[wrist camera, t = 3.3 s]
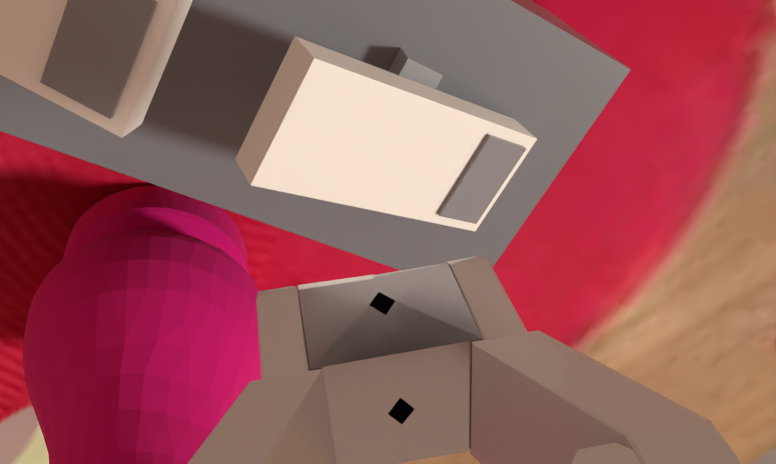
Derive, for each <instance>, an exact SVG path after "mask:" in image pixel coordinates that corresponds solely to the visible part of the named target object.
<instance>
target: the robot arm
mask: <svg viewBox="0 0 776 464" xmlns="http://www.w3.org/2000/svg"><path fill="white" fill-rule="evenodd" d="M298 292H299V297H298ZM299 300H300V303H299ZM256 303H257V319H258V335H259V350H260V366H261V380H255V381H250V382H249V383H248V384H247V386H246V387H245V388H244V390H243V391H242V392H241V394H240V395H239V396H238V397H237V399H236V400H235V401H234V403H233V404H232V405H231V407H230V408H229V409H228V411H227V412H226V413H225V415H224V416H223V417H222V419H221V420H220V421H219V423H218V424H217V425H216V427H215V428H214V429H213V431H212V432H211V433H210V435H209V436H208V437H207V439H206V440H205V441H204V443H203V444H202V445H201V446H200V448H199V449H198V450H197V452H196V453H195V454H194V456H193V457H192V458H191V460H190V461H189V462H188V464H397V463H402V462H404V461H405V462H407V461H413V460H419V459H425V458H431V457H437V456H443V455H449V454H455V453H461V452H467V451H471V455H473V456H474V457H475V458H476V459H477V460H478V461H479V462H481V463H482V464H742V463H741V461H740V460H739V459H738V457H737V456H736V455H735V453H734V452H733V451H732V449H731V448H730V447H729V445H728V444H727V443H726V441H725V440H724V439H723V437H722V436H721V435H720V433H719V432H718V430H717V429H716V428H715V426H714V425H713V424H712V422H711V421H710V420H708V419H706V418H704V417H702V416H700V415H698V414H696V413H694V412H692V411H691V410H689V409H687V408H685V407H683V406H681V405H679V404H677V403H675V402H673V401H672V400H670V399H668V398H666V397H664V396H662V395H660V394H658V393H656V392H655V391H653V390H651V389H649V388H647V387H645V386H643V385H641V384H639V383H637V382H636V381H634V380H632V379H630V378H628V377H626V376H624V375H622V374H620V373H619V372H617V371H615V370H613V369H611V368H609V367H607V366H605V365H603V364H601V363H600V362H598V361H596V360H594V359H592V358H590V357H588V356H586V355H584V354H583V353H581V352H579V351H577V350H575V349H573V348H571V347H569V346H567V345H565V344H564V343H562V342H560V341H558V340H556V339H554V338H552V337H550V336H548V335H547V334H545V333H543V332H541V331H539V330H538V331H532V332H527V330H526V328H525V326H524V324H523V323H522V321H521V319H520V317H519V315H518V313H517V312H516V310H515V308H514V306H513V304H512V303H511V301H510V299H509V297H508V295H507V293H506V292H505V290H504V288H503V286H502V284H501V282H500V281H499V279H498V277H497V275H496V273H495V272H494V270H493V268H492V266H491V264H490V262H489V261H488V259H487V258H486V257H484V256H483V255H479V256H474V257H469V258H464V259H458V260H453V261H448V262H446V263H445V264H438V265H432V266H426V267H420V268H414V269H408V270H402V271H396V272H390V273H384V274H378V275H367V276H360V277H353V278H346V279H339V280H332V281H325V282H317V283H310V284H303V285H298V291H297V287H296V286H290V287H284V288H278V289H271V290H265V291H258V293H257V297H256ZM300 307H301V309H300ZM301 314H302V315H301Z"/></svg>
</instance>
